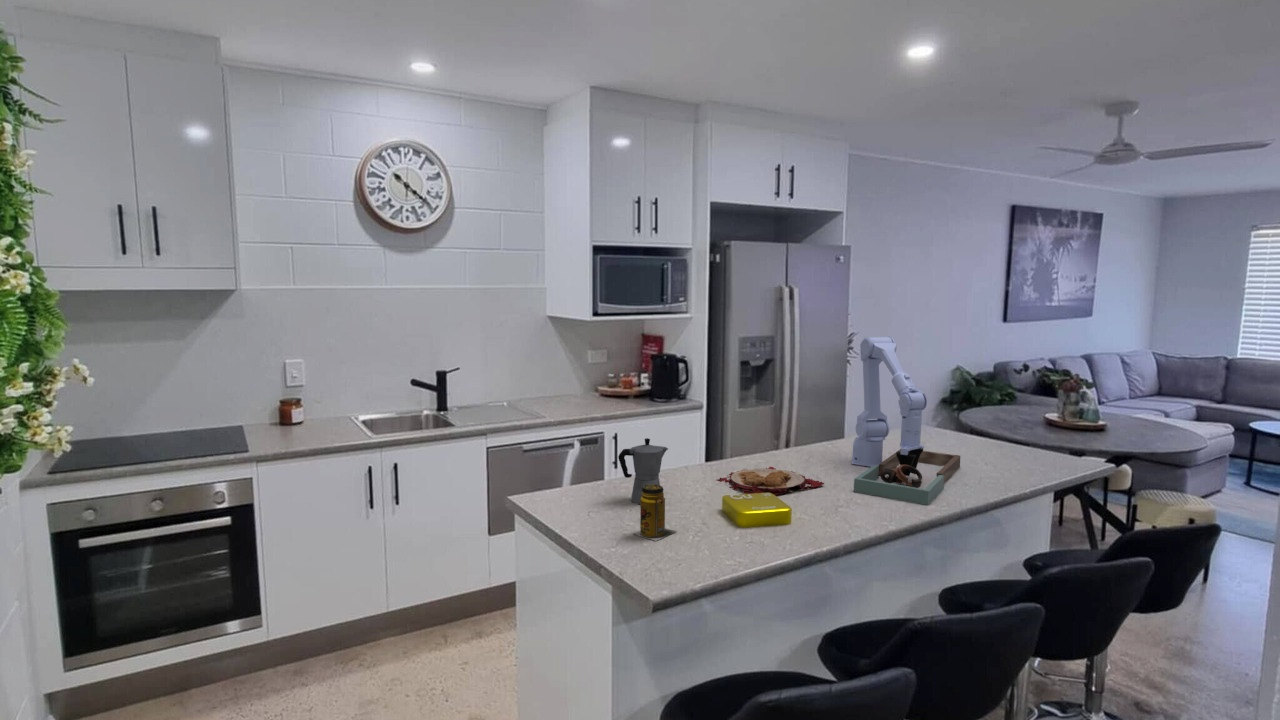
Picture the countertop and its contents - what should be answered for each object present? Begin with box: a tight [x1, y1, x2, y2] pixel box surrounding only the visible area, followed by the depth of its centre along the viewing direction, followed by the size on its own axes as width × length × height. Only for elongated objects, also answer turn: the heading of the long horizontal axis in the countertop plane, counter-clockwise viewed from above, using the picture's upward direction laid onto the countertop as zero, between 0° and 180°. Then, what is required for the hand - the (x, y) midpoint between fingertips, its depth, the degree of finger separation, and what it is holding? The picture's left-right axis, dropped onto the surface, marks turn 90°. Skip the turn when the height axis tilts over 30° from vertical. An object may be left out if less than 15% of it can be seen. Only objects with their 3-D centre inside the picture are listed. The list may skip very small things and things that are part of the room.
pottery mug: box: [879, 464, 923, 488], centre depth 208 cm, size 12×10×8 cm
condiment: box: [634, 484, 677, 542], centre depth 169 cm, size 7×8×12 cm
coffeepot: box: [617, 437, 669, 506], centre depth 194 cm, size 15×9×18 cm, turn 116°
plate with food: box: [716, 466, 825, 497], centre depth 214 cm, size 25×26×4 cm
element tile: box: [721, 493, 793, 529], centre depth 183 cm, size 15×15×5 cm
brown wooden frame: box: [878, 448, 961, 484], centre depth 227 cm, size 19×28×4 cm
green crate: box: [853, 465, 945, 506], centre depth 207 cm, size 21×20×4 cm
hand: (908, 472), depth 215 cm, fingers open, 7 cm apart
